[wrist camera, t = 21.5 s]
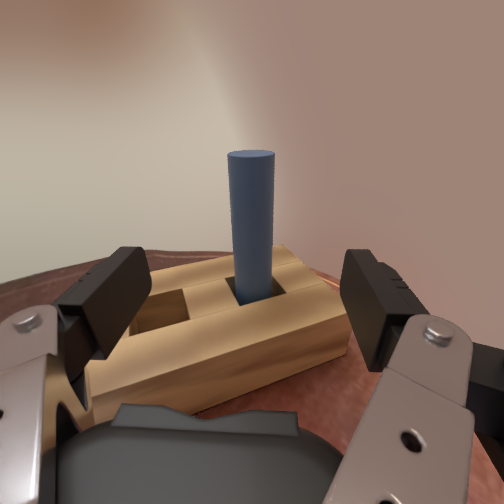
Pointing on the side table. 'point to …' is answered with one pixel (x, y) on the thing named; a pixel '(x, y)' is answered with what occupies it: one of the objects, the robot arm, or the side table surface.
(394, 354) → the robot arm
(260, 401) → the side table surface
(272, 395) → the side table surface
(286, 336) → the rack
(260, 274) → the peg
